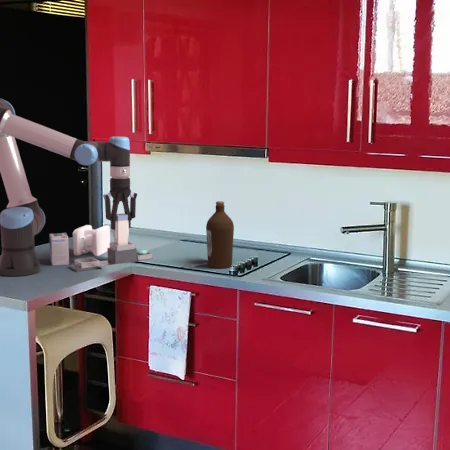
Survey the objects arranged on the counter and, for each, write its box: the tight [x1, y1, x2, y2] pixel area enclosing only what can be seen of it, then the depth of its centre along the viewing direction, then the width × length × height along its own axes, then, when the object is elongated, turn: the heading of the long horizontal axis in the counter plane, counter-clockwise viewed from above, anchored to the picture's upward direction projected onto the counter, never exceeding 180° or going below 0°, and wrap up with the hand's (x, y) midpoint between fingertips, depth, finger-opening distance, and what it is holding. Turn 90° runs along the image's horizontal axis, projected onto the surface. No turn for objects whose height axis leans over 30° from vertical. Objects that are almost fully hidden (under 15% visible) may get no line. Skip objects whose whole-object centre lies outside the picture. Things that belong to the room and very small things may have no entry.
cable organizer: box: [72, 224, 111, 257], centre depth 286 cm, size 15×11×12 cm
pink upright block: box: [113, 213, 129, 245], centre depth 270 cm, size 4×5×12 cm
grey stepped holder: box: [69, 241, 154, 273], centre depth 269 cm, size 32×8×8 cm, turn 123°
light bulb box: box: [48, 232, 70, 266], centre depth 273 cm, size 11×7×11 cm, turn 18°
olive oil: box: [205, 200, 235, 270], centre depth 266 cm, size 11×11×25 cm
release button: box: [137, 248, 148, 255], centre depth 276 cm, size 4×4×2 cm
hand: (120, 236), depth 270 cm, fingers closed on pink upright block, 4 cm apart
